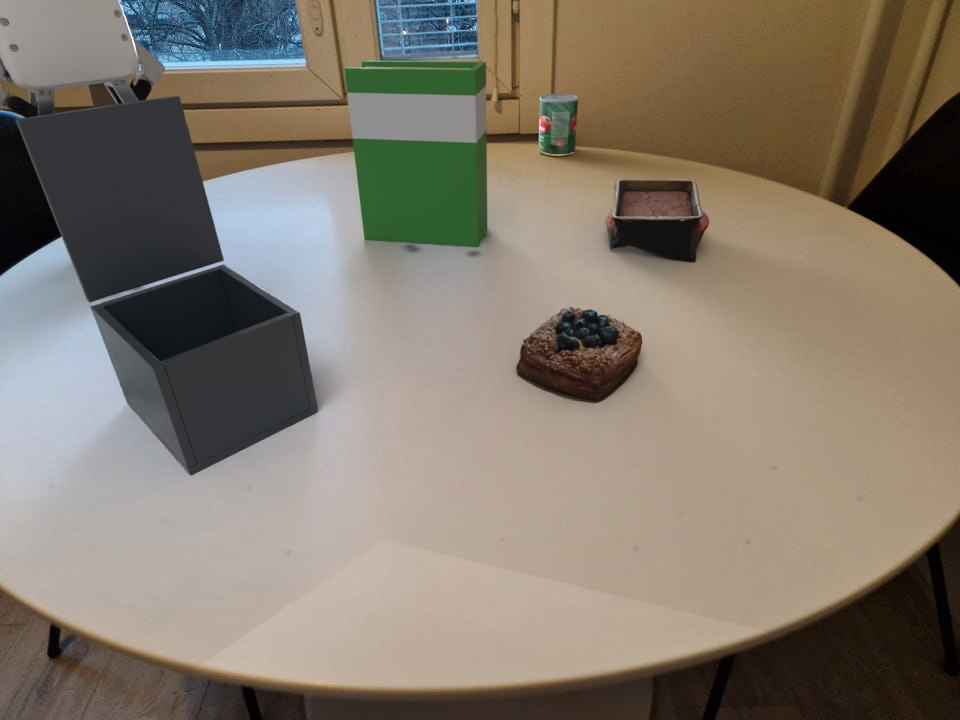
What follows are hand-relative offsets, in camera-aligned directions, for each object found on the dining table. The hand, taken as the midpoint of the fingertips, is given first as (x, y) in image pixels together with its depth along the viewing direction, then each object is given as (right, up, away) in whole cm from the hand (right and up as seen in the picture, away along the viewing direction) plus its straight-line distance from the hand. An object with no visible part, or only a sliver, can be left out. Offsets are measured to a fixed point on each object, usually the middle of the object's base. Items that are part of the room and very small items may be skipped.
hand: (104, 162), depth 59 cm
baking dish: (+60, -1, +37) cm, 70 cm away
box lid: (+4, -4, -2) cm, 6 cm away
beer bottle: (-17, +1, +41) cm, 44 cm away
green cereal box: (+26, +1, +41) cm, 49 cm away
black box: (+9, -23, +3) cm, 25 cm away
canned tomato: (+51, +26, +80) cm, 98 cm away
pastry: (+45, -19, +9) cm, 49 cm away
